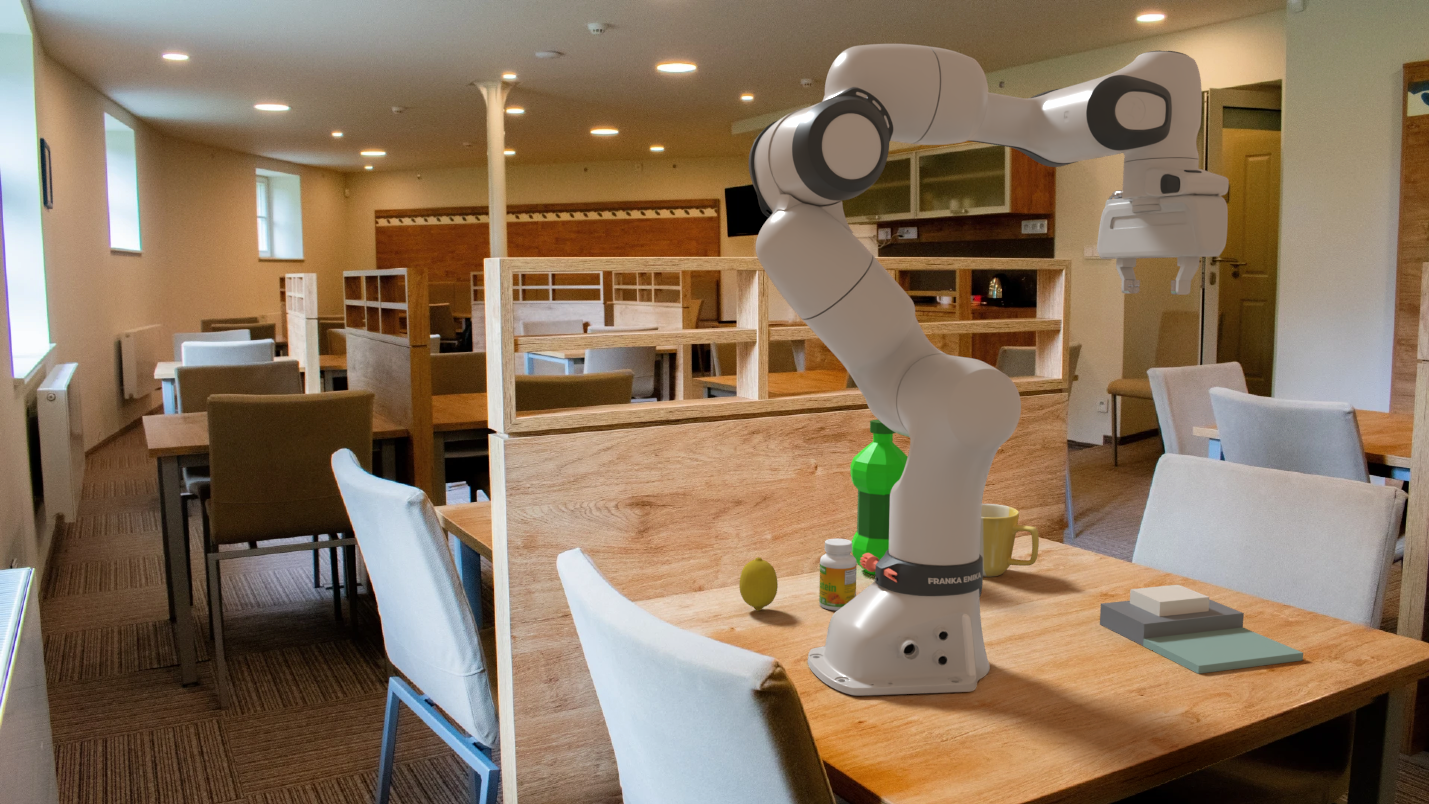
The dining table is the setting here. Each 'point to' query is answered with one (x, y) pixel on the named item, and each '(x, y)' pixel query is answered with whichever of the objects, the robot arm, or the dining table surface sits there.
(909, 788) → the dining table surface
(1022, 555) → the dining table surface
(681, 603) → the dining table surface
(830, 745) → the dining table surface
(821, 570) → the supplement bottle
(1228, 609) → the plate
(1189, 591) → the tile
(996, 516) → the mug
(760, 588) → the lemon
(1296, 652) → the mat
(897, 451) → the plastic bottle
